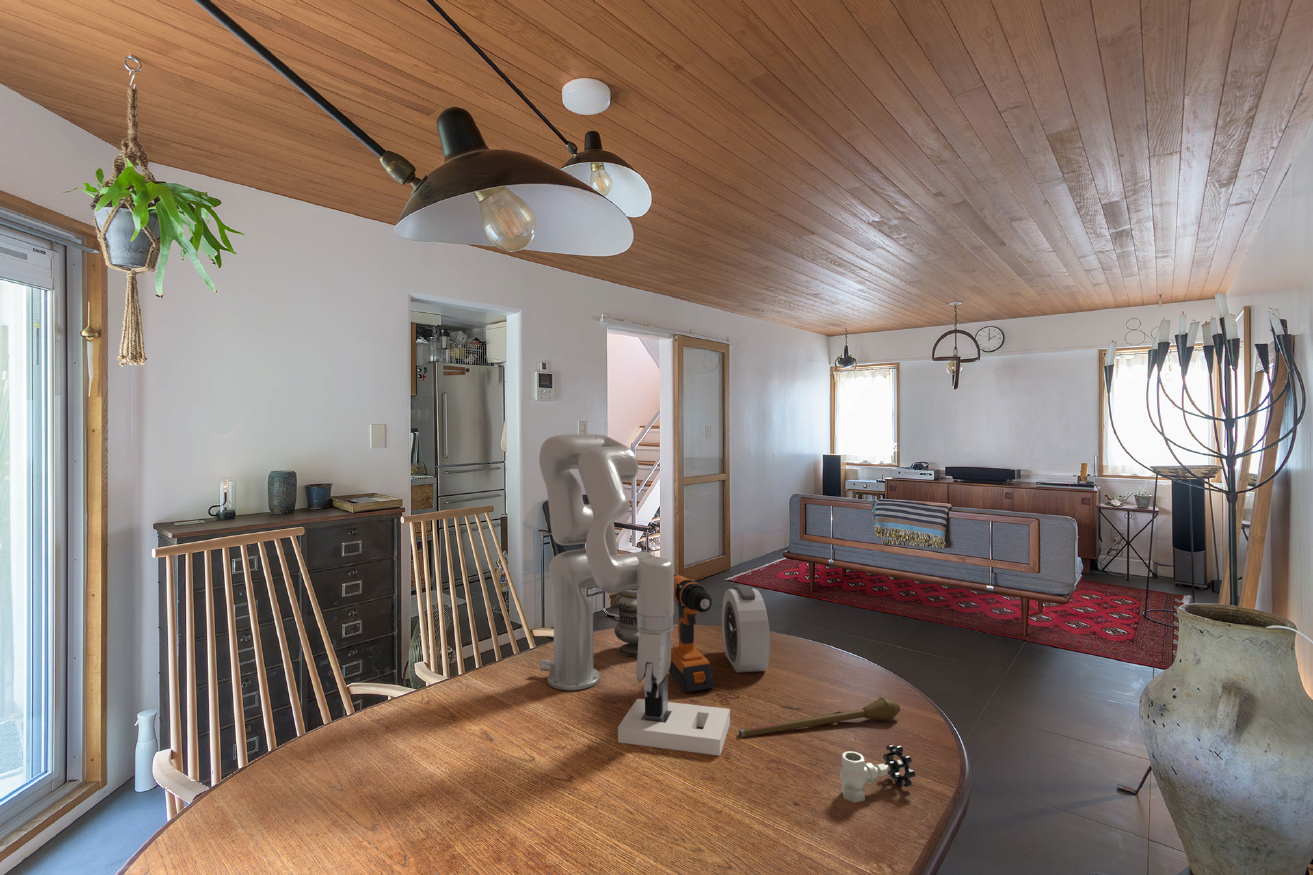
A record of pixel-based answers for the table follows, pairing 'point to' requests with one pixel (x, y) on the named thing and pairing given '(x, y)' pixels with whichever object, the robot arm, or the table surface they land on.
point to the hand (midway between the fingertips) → (656, 710)
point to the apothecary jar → (627, 622)
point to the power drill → (689, 637)
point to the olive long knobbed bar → (831, 718)
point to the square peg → (663, 701)
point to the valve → (872, 772)
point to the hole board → (677, 728)
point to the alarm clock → (745, 629)
